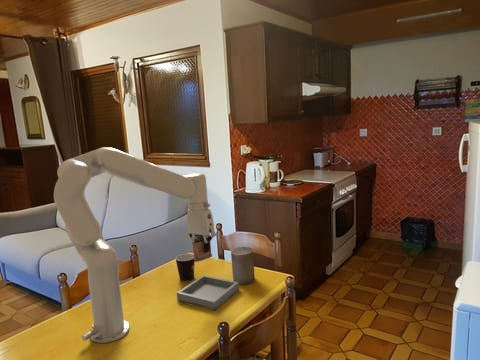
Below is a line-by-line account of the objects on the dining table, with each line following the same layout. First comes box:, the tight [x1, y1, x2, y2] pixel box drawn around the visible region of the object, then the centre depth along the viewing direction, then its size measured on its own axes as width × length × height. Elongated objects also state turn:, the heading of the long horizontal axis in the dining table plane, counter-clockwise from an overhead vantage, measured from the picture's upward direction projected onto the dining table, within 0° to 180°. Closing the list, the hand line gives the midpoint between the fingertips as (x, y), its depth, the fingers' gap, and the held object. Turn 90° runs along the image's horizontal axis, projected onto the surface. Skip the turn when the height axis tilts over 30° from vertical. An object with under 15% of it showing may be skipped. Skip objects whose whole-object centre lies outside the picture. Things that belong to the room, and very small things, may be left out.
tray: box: [176, 274, 240, 312], centre depth 146 cm, size 18×18×4 cm
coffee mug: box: [175, 253, 196, 282], centre depth 162 cm, size 12×9×10 cm
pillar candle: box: [230, 246, 256, 286], centre depth 158 cm, size 10×10×15 cm
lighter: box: [191, 235, 213, 263], centre depth 142 cm, size 8×3×10 cm, turn 131°
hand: (202, 250), depth 142 cm, fingers closed on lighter, 4 cm apart
